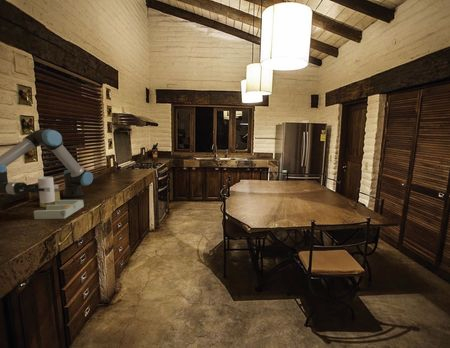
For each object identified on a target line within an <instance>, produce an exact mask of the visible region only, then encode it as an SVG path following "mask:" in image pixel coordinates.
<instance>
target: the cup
mask: <svg viewBox="0 0 450 348" xmlns="http://www.w3.org/2000/svg"><path fill="white" fill-rule="evenodd" d="M54 182H55V181H54V177H53V176H40V177H37V184H38V187H50V189H51V191H50V192H39V193H38V194H39V195H38V196H39V204H40V203H50V202H54V201H55V193H54V191H55V189H54V185H55V184H54Z"/></svg>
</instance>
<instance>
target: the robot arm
mask: <svg viewBox="0 0 450 348" xmlns="http://www.w3.org/2000/svg"><path fill="white" fill-rule="evenodd" d="M63 144H64V141H63V136H62V135H61V133H59V132H58V131H57V130H53V129H37V130H34V131H32V132H31V133H29V134H28V135H26V136H25V137H23V138H22V140H21V141H20V142H18V143H17V144H16V145H14V146H13V147H11V148H10V149H8V150H7V151H5V152H4V153H3V154H2V153H1V155H0V195H13V196H14V195H24V194H26V193H31V194H32V193H37V194H39V192H50V191H51V189H50V187H38V183H37V184H36V183H35V184H34V183H33V184H26V183H25V182H17V181H15V182H14V181H13V182H9V179H8V178H9V177H8V169H7V167H8V166H10V165H11V164H12V163H13V162H16V160H18V159H20V158H21V157H22V156H24V155H25V154H26V153H28V152H29V151H31V150H35V149H36V148H38V147H40V146H44V148H46V150H47V151H48V152H52V153H53V155H55V156H56V158H57V159H58V160H59V161H60V162H61V163H62V164H63V166H64V167H65V168H66V169H65V170H64V171H63V179H64V180H63V181H64V188H63V193H62V194H63V195H62V196H63V198H76V197H81V196H83V195H84V192H83V189H82V187H81V186H89V185H90V184H92V182H93V180H94V174H93V173H92V172H90V171H88V170H87V169H86V168H85V167H84V166H81V165H80V164H79V163H78V161H76V160H75V159H76V158H74V157H73V156H72V154H71V153H70V152H69V150H67V148H66V147H65V146H64V145H63ZM57 189H59V184H54V190H57Z"/></svg>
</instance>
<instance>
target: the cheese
mask: <svg viewBox="0 0 450 348" xmlns="http://www.w3.org/2000/svg"><path fill="white" fill-rule="evenodd" d="M54 193H55V201H54V202H50V203H40V202H39V207H40V208H46V205H57V203H56V201H57V200H61V194H60V191H59V190H57V191H56V190H54Z"/></svg>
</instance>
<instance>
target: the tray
mask: <svg viewBox="0 0 450 348" xmlns="http://www.w3.org/2000/svg"><path fill="white" fill-rule="evenodd" d="M56 203H57V205H46V207H45V210H44V209H43V210H42V209H40V210H38V209H37V210H34V211H33V218H34V220H59V219H60V220H61V219H62V220H63V219H66V218H68V217H70V216H71V215H73V214H74V213H76V212H77V211H79V210H81V209H82V208H84V206H85V205H84V199H60V200H57V201H56Z"/></svg>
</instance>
